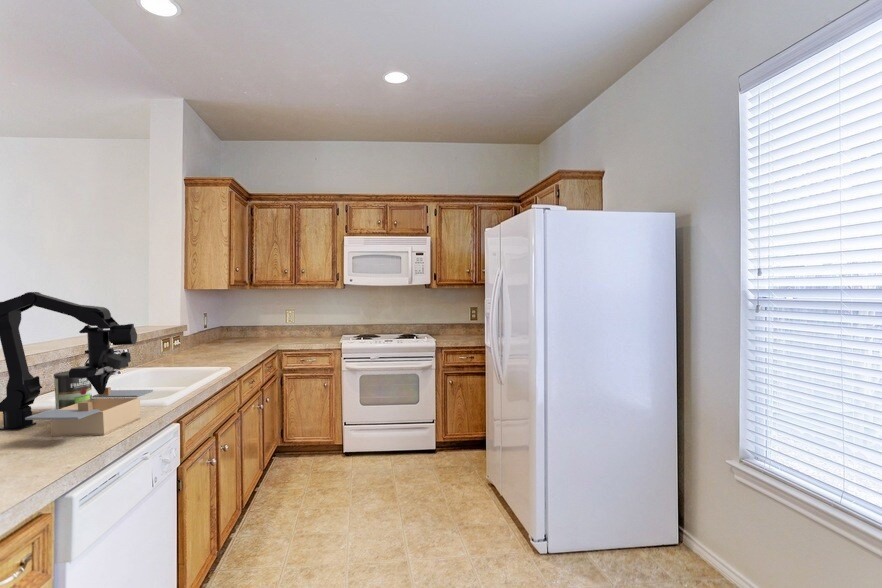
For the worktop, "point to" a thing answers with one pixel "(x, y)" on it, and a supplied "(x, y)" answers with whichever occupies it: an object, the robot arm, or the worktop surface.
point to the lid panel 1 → (66, 413)
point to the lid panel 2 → (121, 393)
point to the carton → (99, 417)
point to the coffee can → (71, 390)
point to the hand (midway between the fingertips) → (101, 394)
